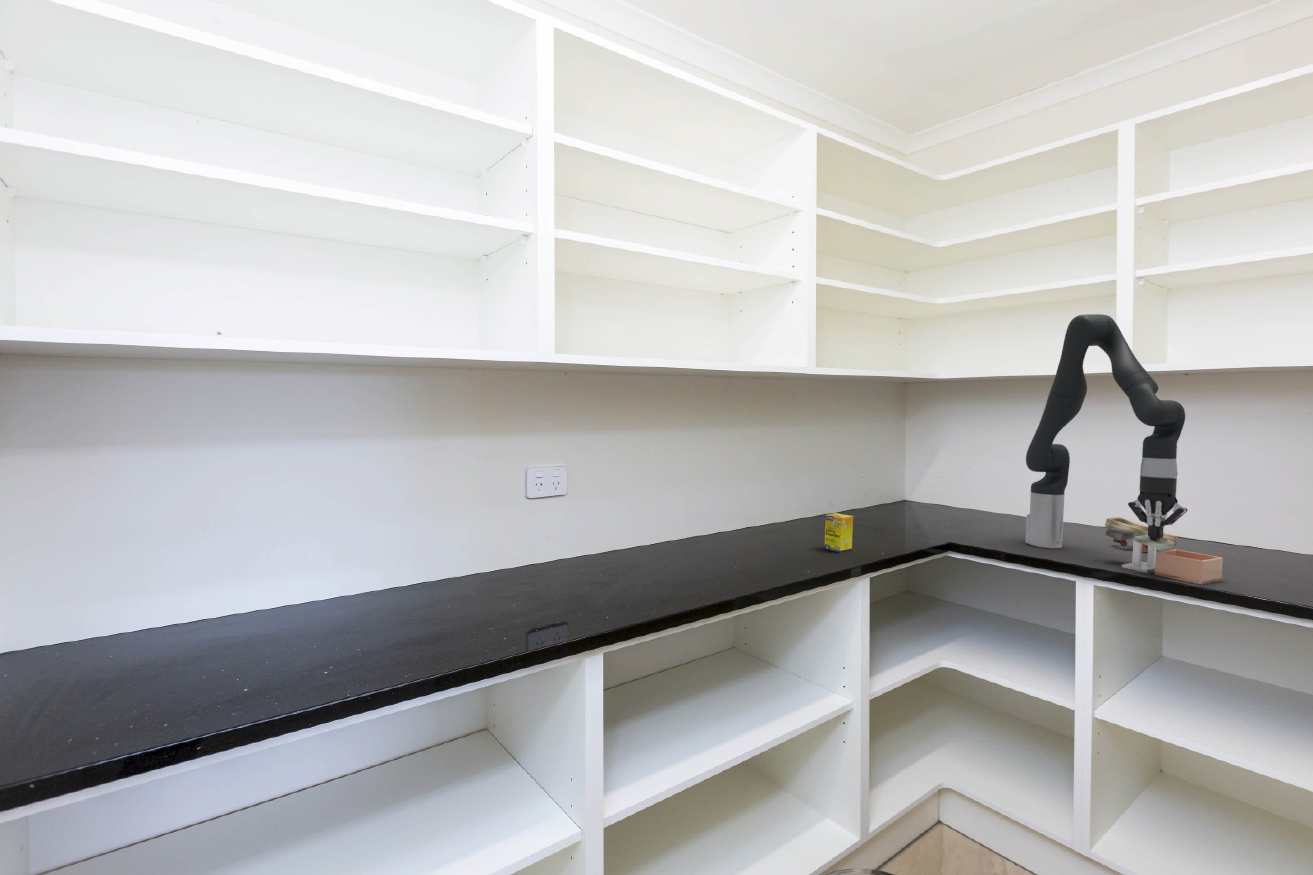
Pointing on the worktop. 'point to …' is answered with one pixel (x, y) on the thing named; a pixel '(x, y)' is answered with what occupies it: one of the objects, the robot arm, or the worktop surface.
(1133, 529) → the chute
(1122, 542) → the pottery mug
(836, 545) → the supplement box
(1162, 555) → the pink storage bin
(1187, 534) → the worktop surface
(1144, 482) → the robot arm
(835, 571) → the worktop surface
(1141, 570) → the chute stand
